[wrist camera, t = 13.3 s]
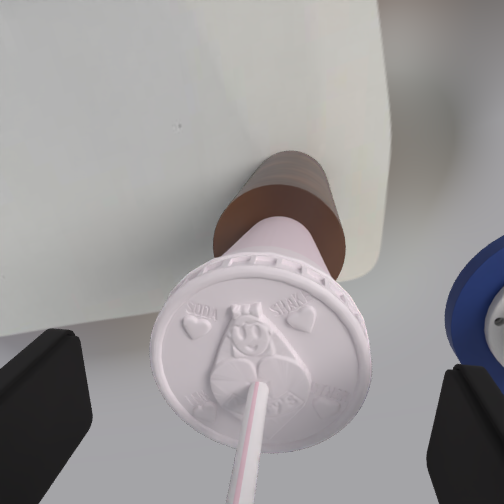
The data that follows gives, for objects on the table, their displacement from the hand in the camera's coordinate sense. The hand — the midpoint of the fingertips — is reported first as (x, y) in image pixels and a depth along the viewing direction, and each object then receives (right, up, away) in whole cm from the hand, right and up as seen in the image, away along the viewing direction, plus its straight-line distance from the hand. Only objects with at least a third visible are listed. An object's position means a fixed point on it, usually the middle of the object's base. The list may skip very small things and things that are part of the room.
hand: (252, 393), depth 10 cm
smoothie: (+1, +4, +10) cm, 11 cm away
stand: (+3, +9, +25) cm, 27 cm away
